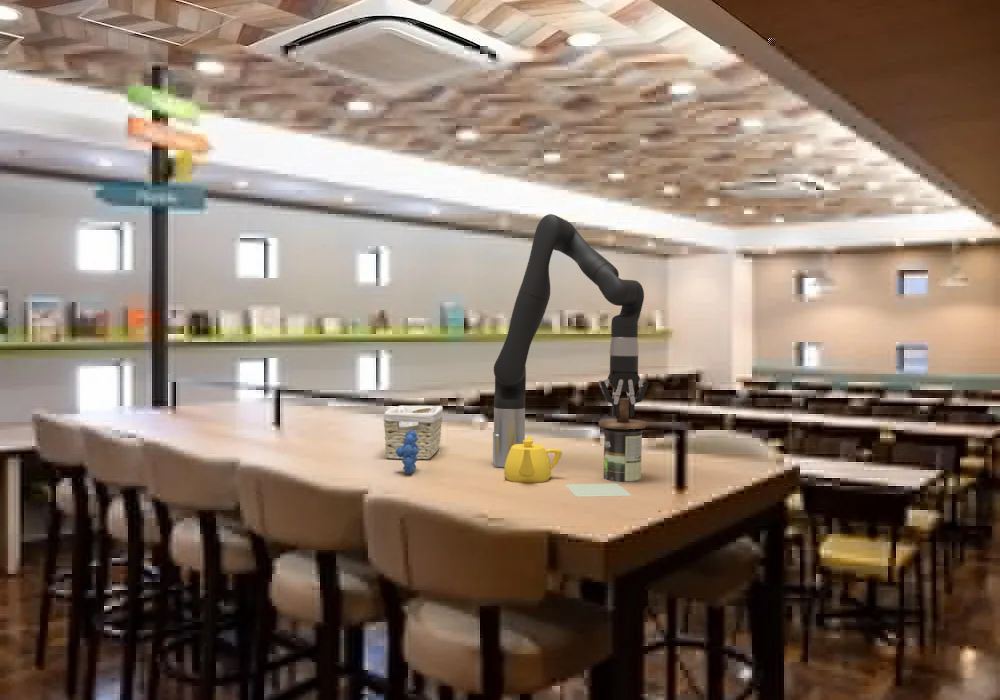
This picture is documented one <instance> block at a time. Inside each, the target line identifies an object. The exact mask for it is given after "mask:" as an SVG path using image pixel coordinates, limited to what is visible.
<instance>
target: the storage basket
mask: <svg viewBox="0 0 1000 700" xmlns="http://www.w3.org/2000/svg"><path fill="white" fill-rule="evenodd" d="M443 409H444V408H443V406H442V405H398V406H394V407H392V408H390V409H387V410H386V411H385V412H384V414H383V427H384V440H385V441H384V442H385V443H384V444H385V457H386V458H387V459H396V460H399V459H400V460H403V457H399V456H398V455H397V454H396V452H395V451H396V450H397V449H398V447H400V446H403V445H404V443H405V442H404V440H403V439H404V438H405V437H406V436H405V435H406V433H407V432H408V431H409V430H413V431H414V432H415V433H416V434H417V437H418V440H417V441H416V442H415V443H416V445H417V446H418V451H419V453H418V454H417V455H416V457H417V458H418V460H430V459H431V458H432V457H433V456H434V455H435V454H436V453H437V452H438V451H439V449H440V444H441V434H442V432H441V431H442V428H441V427H442V424H443V423H442V421H443V420H442V419H443V416H444V413H443Z"/></svg>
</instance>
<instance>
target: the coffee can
mask: <svg viewBox="0 0 1000 700" xmlns="http://www.w3.org/2000/svg"><path fill="white" fill-rule="evenodd" d="M603 428H604V429H603V437H604V438H603V440H604V441H603V480H605V481H607V482H613V483H618V484H619V483H620V484H621V483H622V484H625V483H626V484H627V483H628V484H629V483H637V482H640V481H642V450H643V449H642V448H643V447H642V446H643V444H642V443H643V440H642V439H643V430H642V431H641V430H635V429H633V430H629V429H613V428H605V427H603Z"/></svg>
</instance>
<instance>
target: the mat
mask: <svg viewBox="0 0 1000 700" xmlns="http://www.w3.org/2000/svg"><path fill="white" fill-rule="evenodd" d="M564 486H565V487H566V488H567V489H568V490H569V491H570V493H571V494H572V495H573V496H574V497H575V498H585V497H586V498H587V497H588V498H590V497H594V498H595V497H596V498H598V497H632V496H633V495H632V494H631V493H630V492H628V491H627V490H626V489H625V488H624V487H622V486H621V485H619V483H573V484H572V483H567V484H565V483H564Z"/></svg>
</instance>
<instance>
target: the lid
mask: <svg viewBox="0 0 1000 700" xmlns="http://www.w3.org/2000/svg"><path fill="white" fill-rule="evenodd" d="M618 405H619V417H618V418H608V419H600V420H598V426H599V427H601V428H613V429H642V430H643V429H646V428H645V427H646V426H647V425H648V422H647V421H644V420H640V419H632V418H629V400H628V398H627V399H625V398H623V399H621V398H619V401H618ZM647 427H648V426H647Z"/></svg>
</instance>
